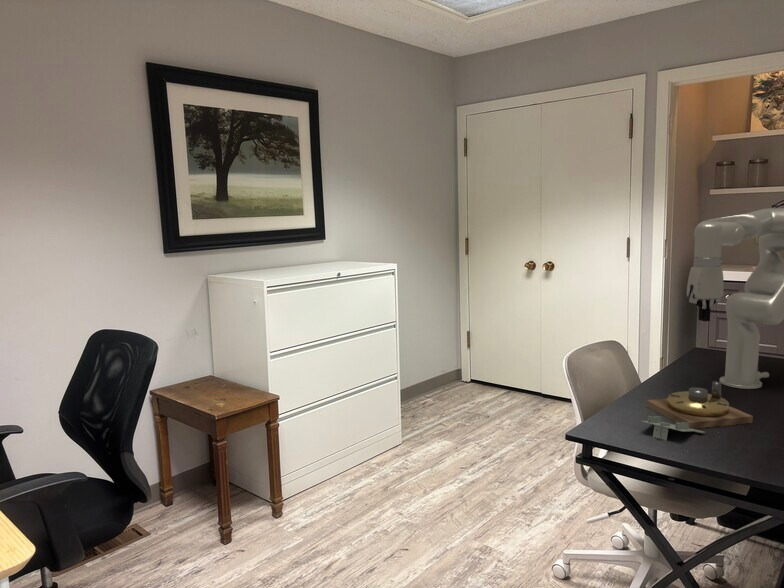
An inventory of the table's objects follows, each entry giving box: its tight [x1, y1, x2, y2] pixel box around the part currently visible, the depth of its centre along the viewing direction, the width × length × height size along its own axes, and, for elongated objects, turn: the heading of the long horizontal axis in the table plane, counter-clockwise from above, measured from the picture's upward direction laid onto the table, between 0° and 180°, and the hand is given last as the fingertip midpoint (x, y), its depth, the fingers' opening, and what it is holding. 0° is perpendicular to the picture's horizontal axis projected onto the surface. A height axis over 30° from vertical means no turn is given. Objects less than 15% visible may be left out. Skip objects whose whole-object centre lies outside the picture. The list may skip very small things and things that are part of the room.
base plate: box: [645, 397, 754, 430], centre depth 178 cm, size 20×20×2 cm
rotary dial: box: [667, 380, 730, 416], centre depth 177 cm, size 16×16×7 cm
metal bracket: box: [640, 415, 706, 441], centre depth 165 cm, size 14×6×15 cm
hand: (704, 320), depth 190 cm, fingers closed
